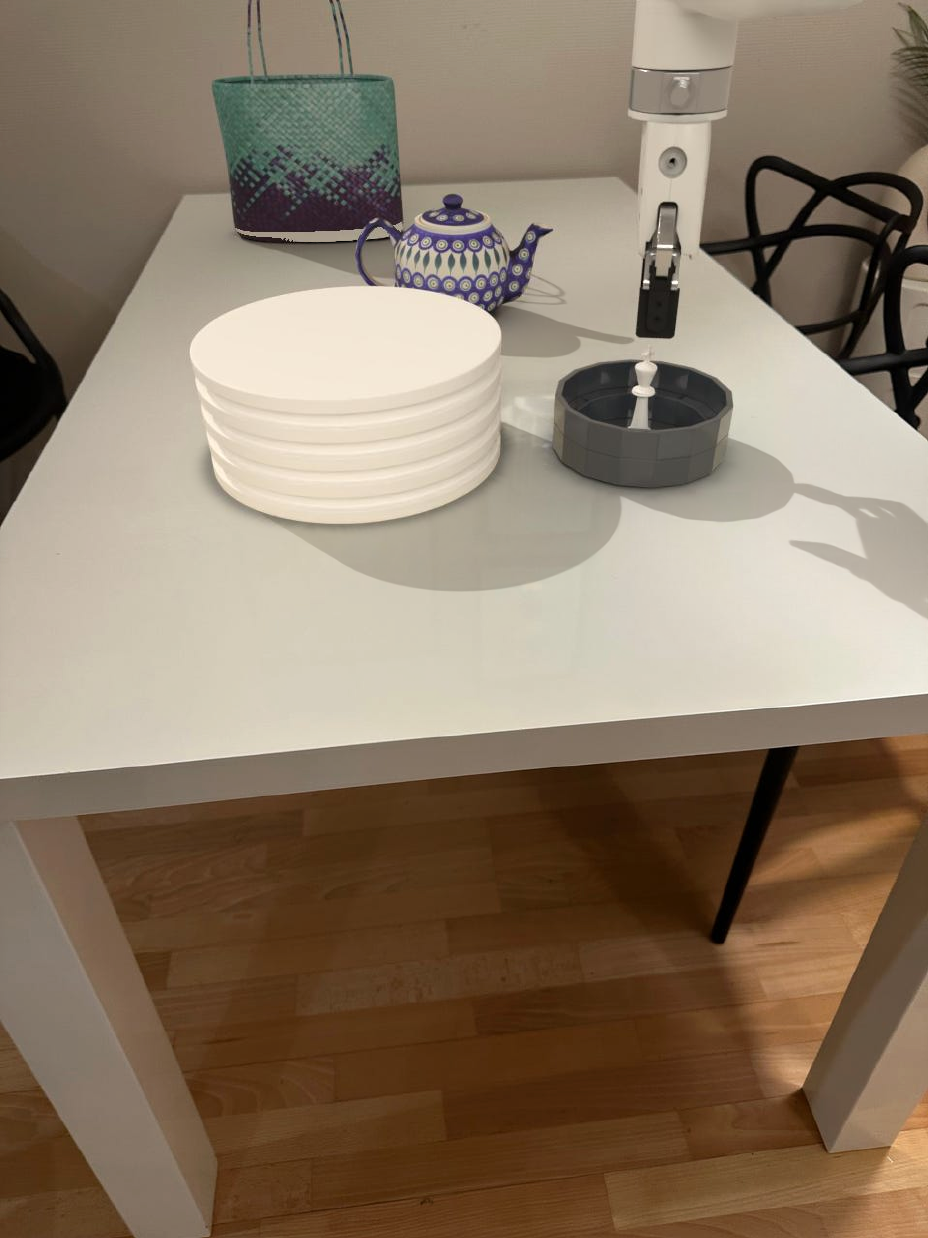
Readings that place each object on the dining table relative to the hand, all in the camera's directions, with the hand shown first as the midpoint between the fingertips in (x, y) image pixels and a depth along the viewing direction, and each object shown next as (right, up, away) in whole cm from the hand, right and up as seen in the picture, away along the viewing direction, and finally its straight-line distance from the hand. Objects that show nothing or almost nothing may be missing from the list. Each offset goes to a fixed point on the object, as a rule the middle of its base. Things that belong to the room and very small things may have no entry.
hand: (655, 317), depth 79 cm
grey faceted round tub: (0, -10, +8) cm, 13 cm away
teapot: (-18, +13, +39) cm, 45 cm away
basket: (-41, +38, +71) cm, 90 cm away
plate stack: (-27, -10, +10) cm, 31 cm away
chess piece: (0, -10, +8) cm, 13 cm away
